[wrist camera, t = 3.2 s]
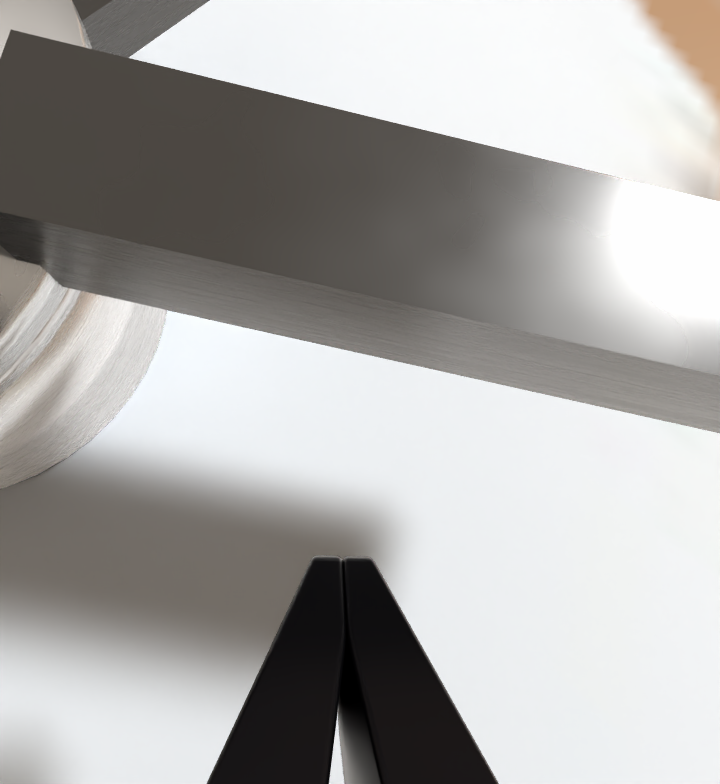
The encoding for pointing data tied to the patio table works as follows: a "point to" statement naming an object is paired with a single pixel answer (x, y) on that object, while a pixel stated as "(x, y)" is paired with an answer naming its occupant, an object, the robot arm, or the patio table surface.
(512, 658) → the patio table surface
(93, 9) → the cooker pot
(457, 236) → the cooker lid
